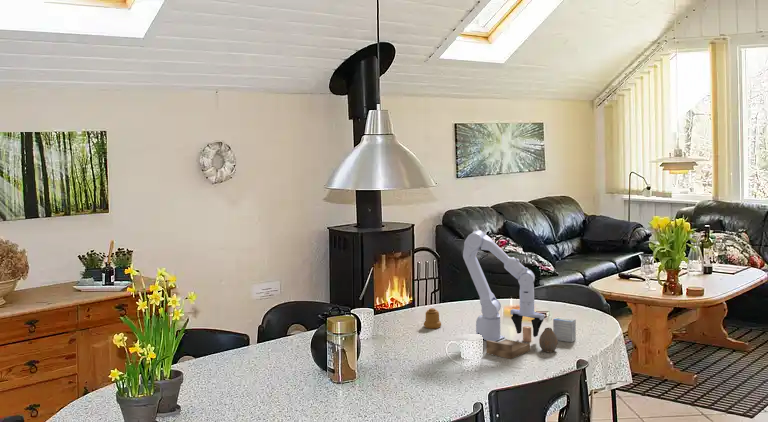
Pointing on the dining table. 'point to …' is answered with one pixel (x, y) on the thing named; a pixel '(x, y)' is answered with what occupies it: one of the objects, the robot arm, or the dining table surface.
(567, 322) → the medicine box
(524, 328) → the peach rounded cylinder
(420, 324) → the dining table surface
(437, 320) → the ornamental finial
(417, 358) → the dining table surface
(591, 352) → the dining table surface
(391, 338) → the dining table surface
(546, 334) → the vase
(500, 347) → the brown wooden box
